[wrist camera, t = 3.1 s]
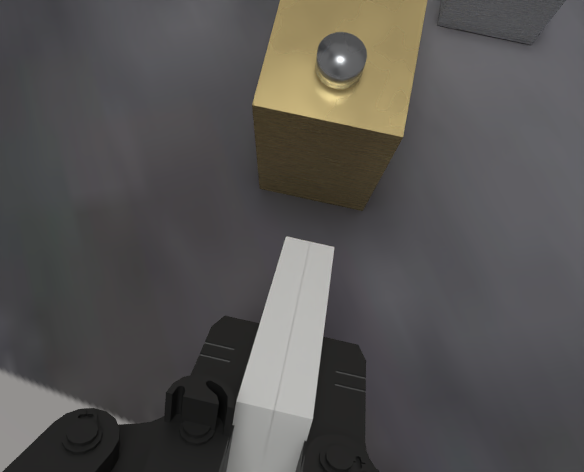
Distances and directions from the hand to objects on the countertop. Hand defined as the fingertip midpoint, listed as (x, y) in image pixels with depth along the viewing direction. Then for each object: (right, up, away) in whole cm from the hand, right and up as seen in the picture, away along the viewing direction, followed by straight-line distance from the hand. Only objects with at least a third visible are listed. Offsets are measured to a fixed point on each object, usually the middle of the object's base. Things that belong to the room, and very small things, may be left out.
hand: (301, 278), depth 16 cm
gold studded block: (+2, +9, +10) cm, 13 cm away
